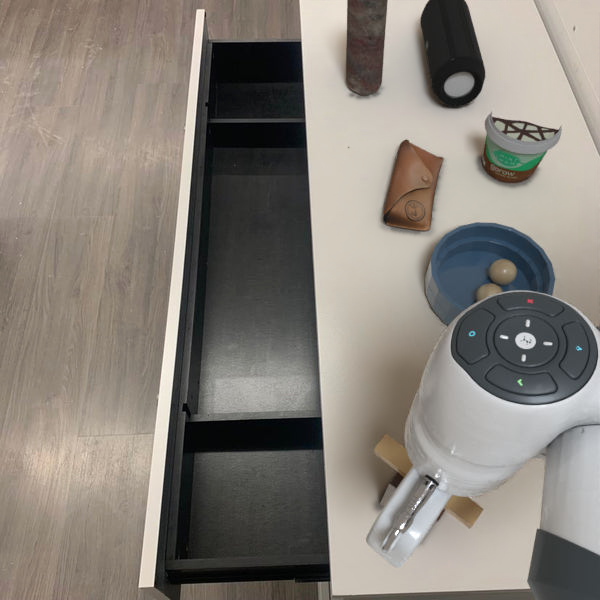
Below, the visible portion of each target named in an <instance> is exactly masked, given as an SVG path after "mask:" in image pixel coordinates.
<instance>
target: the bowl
mask: <svg viewBox="0 0 600 600" xmlns="http://www.w3.org/2000/svg"><path fill="white" fill-rule="evenodd" d="M499 259H507V260H510V261H511V262H512V263H514V265H515V266H516V269H517V275H516V277H515V279H514V280H513V281H512V282H511V283H510V284H507V285H498V284H496V285H498V286H499V287H500V288H501V289H502V290H503V292H506V291H515V290H526V291H534V292H539V293H544V294H548V295H551V296H554V295H553V294H554V289H555V284H556V275H555V271H554V267H553V262H552V261H551V259H550V258H549V256H548V254H547V253H546V251H545V249H544V248H543V247H542V246H541V245H539V244H538V243H537V242H536V241H535V240H534V239H533V238H532V237H531V236H529V235H528V234H526V233H523V232H522V231H520V230H518V229H516V228H514V227H512V226H508V225H505V224H501V223H497V222H482V221H481V222H479V221H478V222H477V221H476V222H472V223H467V224H463V225H459V226H457V227H455V228H454V229H452V230H450V231H448V232H446V233H445V234H444V235H443V236H442V237H441V238H440V239H439V241H438V242H437V243H436V244H435V246H434V248H433V251H432V254H431V257H430V261H429V264H428V268H427V271H426V274H425V278H424V286H425V287H424V288H425V296H426V298H427V300H428V303H429V305H430V307H431V309H432V311H433V312H434V313H435V314H436V315H437V316H438V317H439V319H441V321H442V322H443V323H444V324H445V325H447V326H449V325H450V324H451V322H452V321H453V320H454V319H455V318H456V317H457V316H458V315H459V314H460V313H461V312H463V311H464V310H465V309H467V308H468V307H470V306H471V305H473V304H474V303H476V302H477V301H476V292H477V290H478V289H479V288H480V287H481V286H482V285H484V284H488V283H493V284H495V283H494V282H493V281H492V280H491V279H490V277H489V268H490V266H491V264H492V263H493V262H495V261H496V260H499Z"/></svg>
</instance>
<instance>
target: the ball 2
mask: <svg viewBox="0 0 600 600" xmlns="http://www.w3.org/2000/svg"><path fill="white" fill-rule="evenodd" d="M516 275H517V269H516V266H515V265H514V263H512V262H511V261H510V260H507V259H499V260H496V261H495V262H493V263H492V264H491V266H490V268H489V277H490V279H491V280H492V281H493V282H494V283H495V284H498V285H507V284H510V283H511V282H512V281H513V280H514V279H515V277H516Z"/></svg>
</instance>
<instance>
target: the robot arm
mask: <svg viewBox="0 0 600 600" xmlns="http://www.w3.org/2000/svg"><path fill="white" fill-rule="evenodd" d="M419 383H420V384H419V388H418V390H416V393H415V395H414V398H413V401H412V403H411V407H410V409H409V412H408V415H407V418H406V421H405V425H404V433H403V436H404V445H405V449H406V450H407V453H408V456H409V458H410V460H411V462H412V464H413V466H412V467H411V469H410V470H409V472H408V473H407V474H406V476H405V477H404V479H403V480H402V481H401V483H400V484H399V486H398V487H397V488H396V490H395V491H394V493H393V494H392V496H391V497H390V498H389V500H388V501H387V503H386V504H385V506H384V507H382V509H381V510H380V512H379V513H378V515H377V516H376V518H375V520H374V521H373V524H372V525H371V527H370V529H369V531H368V533H367V535H366V537H365V543H366V544H367V545H368V546H369V547H370V548H371V549H372V550H373V551H374V552H375V553H377V555H379V556H380V557H381V558H382V559H384V560H385V561H386V562H387V563H388V564H390V566H392V567H393V568H397V569H399V568H402V567H403V566H404V564H405V563H406V562H407V561H408V560H409V559H410V557H412V555H413V554H414V553H415V551H416V550H417V549H418V547H419V546H420V544H421V543H422V542H423V541H424V540H425V537H426V536H427V535H428V533H429V531H430V530H431V528H433V526H434V525H433V524H434V522H435V521H436V519H437V518H438V516H439V515H440V513H441V512H442V510H443V508H444V507H445V505H446V504H447V502H448V501H449V499H450V498H451V496H452V495H455V496H461V497H469V498H474V497H475V498H476V497H481V496H484V495H487V494H489V493H492V492H493V491H495V490H497V489H498V488H500V487H501V486H502V485H503V484H505V483H506V482H507V481H508V480H509V479H510V478H511V477H513V476H514V475H515V474H516V473H517V472H519V471H520V470H521V469H522V468H523V467H524V466H525V465H526V464H527V463H528V462H529V461H531V460H533V459H542V460H545V461H544V462H545V463H544V472H543V484H542V495H541V505H540V517H539V528H536V532H535V536H534V543H533V548H532V552H531V558H530V563H529V569H528V574H527V579H526V582H527V585H528V587H529V589H530V591H531V593H532V595H533V597H534V600H600V326H596V325H595V324H594V323H593V322H592V320H590V318H588V316H586V315H585V314H584V313H583V312H582V311H581V310H579V308H577V307H575V306H574V305H572V304H571V303H569V302H567V301H565V300H564V299H561V298H559V297H557V296H555V295H552V296H551V295H548V294H544V293H539V292H534V291H526V290H515V291H506V292H501V293H497V294H494V295H491V296H489V297H486V298H484V299H482V300H480V301H478V302H476V303H474V304H473V305H471V306H470V307H468V308H467V309H465V310H464V311H463V312H461V313H460V314H459V315H458V316H457V317H456V318H455V319H454V320H453V321H452V322H451V324H450V325H447V327H446V328H445V330H444V331H443V333H442V334H441V336H440V337H439V338H438V341H437V342H436V344H435V346H434V347H433V349H432V350H431V353H430V354H429V357H428V359H427V361H426V364H425V366H424V370H423V372H422V375H421V379H420V382H419ZM432 525H433V526H432Z"/></svg>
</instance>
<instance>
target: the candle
mask: <svg viewBox="0 0 600 600" xmlns="http://www.w3.org/2000/svg"><path fill="white" fill-rule="evenodd" d="M387 14H388V0H347V1H346V46H345V83H346V85H347V86H348V88H349V89H350V90H351V91H353V92H355V93H357V94H358V95H360V96H370V95H372V94H373V93H376V92H378V91H379V89H380V87H381V86H382V83H383V73H384V72H383V71H384V55H385V40H386V26H387Z"/></svg>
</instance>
